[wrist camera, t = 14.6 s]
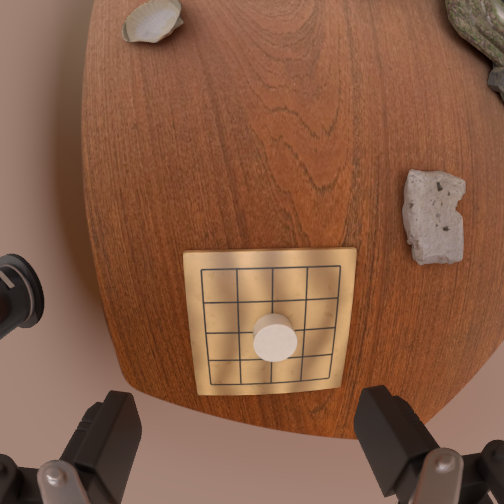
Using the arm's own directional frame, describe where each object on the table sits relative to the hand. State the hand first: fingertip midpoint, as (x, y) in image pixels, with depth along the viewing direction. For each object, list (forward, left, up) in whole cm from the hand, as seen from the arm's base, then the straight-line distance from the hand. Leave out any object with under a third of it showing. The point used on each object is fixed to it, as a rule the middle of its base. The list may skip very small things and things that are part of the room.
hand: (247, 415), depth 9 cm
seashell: (-11, +29, -26) cm, 41 cm away
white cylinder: (+4, -10, -25) cm, 27 cm away
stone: (+24, +4, -26) cm, 36 cm away
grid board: (+3, -10, -26) cm, 28 cm away
